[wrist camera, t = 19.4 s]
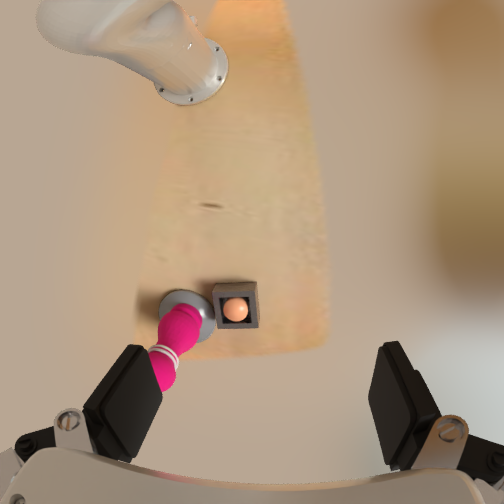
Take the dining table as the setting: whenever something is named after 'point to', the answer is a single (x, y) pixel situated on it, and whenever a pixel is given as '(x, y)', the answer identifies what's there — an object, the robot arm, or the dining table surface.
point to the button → (236, 308)
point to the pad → (195, 301)
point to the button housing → (236, 290)
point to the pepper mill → (174, 341)
